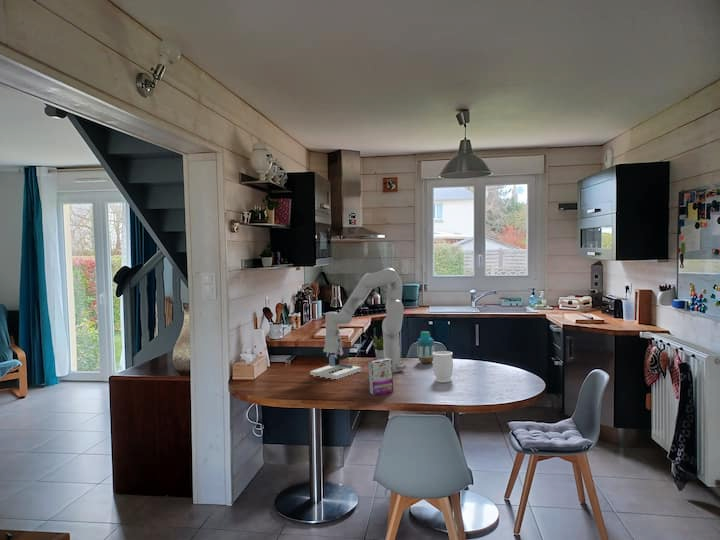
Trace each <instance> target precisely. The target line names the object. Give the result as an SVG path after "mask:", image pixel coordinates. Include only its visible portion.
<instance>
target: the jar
mask: <svg viewBox="0 0 720 540" xmlns="http://www.w3.org/2000/svg"><path fill="white" fill-rule="evenodd" d="M432 354H433V356H434V357H433V361H432V369H433V372H434V376H435V379H434V380H435V382H436V383H442V384H443V383H445V384H446V383H450V382H452V375H453V370H454V361H453V352H452V351H449V350H448V351H446V350H439V351H435V352H433V353H432Z"/></svg>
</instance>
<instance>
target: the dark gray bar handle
mask: <svg viewBox="0 0 720 540" xmlns="http://www.w3.org/2000/svg"><path fill="white" fill-rule="evenodd" d="M338 366H343V367H349V368H353V366H354V365H353V364H344V363H339V365H338Z"/></svg>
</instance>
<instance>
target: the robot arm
mask: <svg viewBox="0 0 720 540" xmlns="http://www.w3.org/2000/svg"><path fill="white" fill-rule="evenodd" d="M386 285H387V295H386V302H385V310H386V315H385V318H384V319H383V320H382V322H381V324H382V325H381V329H382V338H383V339H382V342H383V345H384V359H385V358H389V359H391V360H392V373H399V372H403V371H404V370H405V369H406V365H405V364H403V362H401V347H400V346H401V345H400V343H401V340H400V332H401V330H402V326H403V320H404V310H405V309H404V304H403V302H402V300H403V299H402V298H403V282H402V279H401V277H400V275H399V274H398V272H397V271H396V270H395V269H394V268H392V267H385V268H383V269H382V270H379V271H376V272H367V273H365V274H364V275H363V276H362V277H361V279H359V282H358V284H356V286H355V288H354V289H353V291H352V292H351V294H350V295H349V297H348V299H347V300H346V302H344V304H343V306H342V308H341V309H340V311H339V312H337V311H328V312H326V313H325V315H324V317H325V336H324V347H323V350H322V351H323V353H324V354H325V356H326V359H327V360H326V361H327V365H329V356H331V355H332V354H334V355H335V357H336V358H335V365H339V364H340V358H341V357H342V355H343V354H344V351H343V343H342V338H341V335H340V333H341V332H340V328H339V327H340V325H343V326H345V325H346V326H347V325H349V324H350V323H351V322H352V319H353V318H352V317H353V315H354V314H355V312H356V311H357V309H358V307H359V306H360V305H362V304H363V303H364V302H365V301H366V299H367V298H368V296H369V295H370V293H371V291H372V290H373V289H375V288H379V287H382V286H386Z"/></svg>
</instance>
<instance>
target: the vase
mask: <svg viewBox="0 0 720 540" xmlns="http://www.w3.org/2000/svg"><path fill="white" fill-rule="evenodd" d="M416 348H417V352H416V353H417V358H418V361H419V362H421V363H423V364H430V363H433V357H434V356H433V354H432V353H433V352H436V351H435V349H436V347H435V340H434V338H432V337H431V333H430V331H425V330H424V331H421V332H420V337H419V338H418V339H417V345H416Z"/></svg>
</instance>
